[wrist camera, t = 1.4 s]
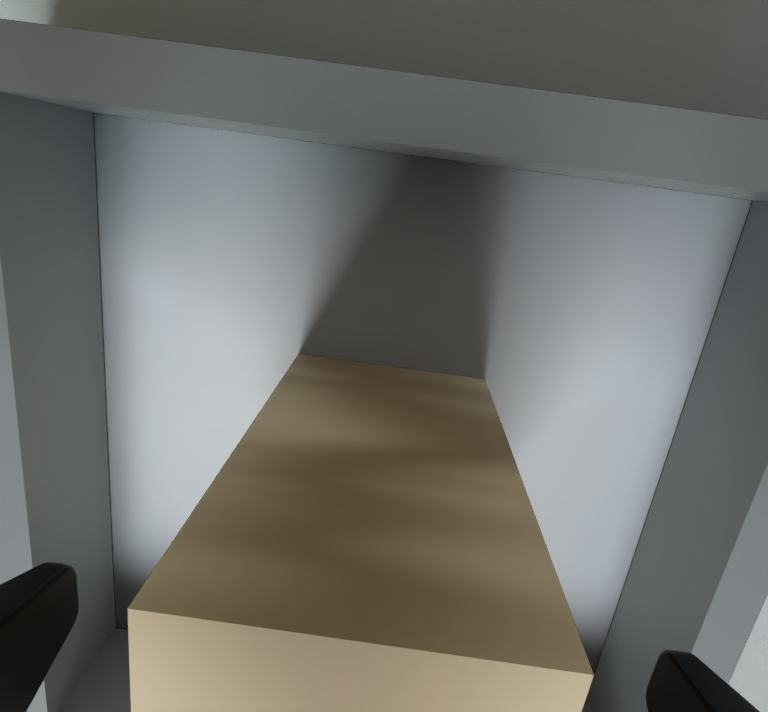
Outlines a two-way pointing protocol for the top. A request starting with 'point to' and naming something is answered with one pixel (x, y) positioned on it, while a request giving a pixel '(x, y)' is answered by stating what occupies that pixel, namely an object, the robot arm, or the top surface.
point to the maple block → (360, 563)
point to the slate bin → (383, 133)
